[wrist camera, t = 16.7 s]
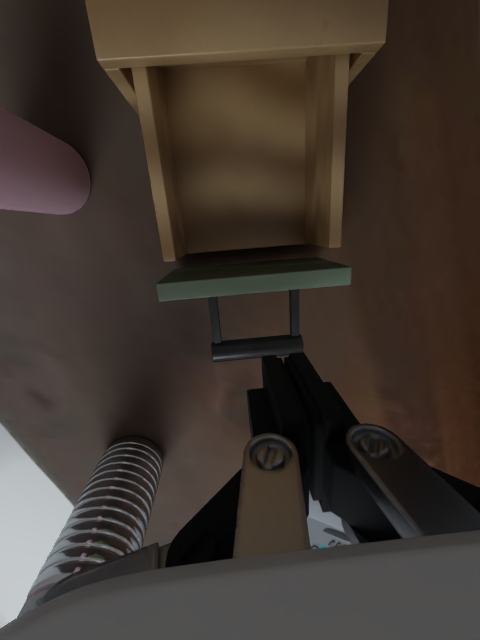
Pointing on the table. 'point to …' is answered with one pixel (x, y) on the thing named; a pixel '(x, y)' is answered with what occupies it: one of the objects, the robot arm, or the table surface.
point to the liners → (39, 170)
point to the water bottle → (105, 514)
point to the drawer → (247, 177)
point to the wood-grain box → (230, 32)
